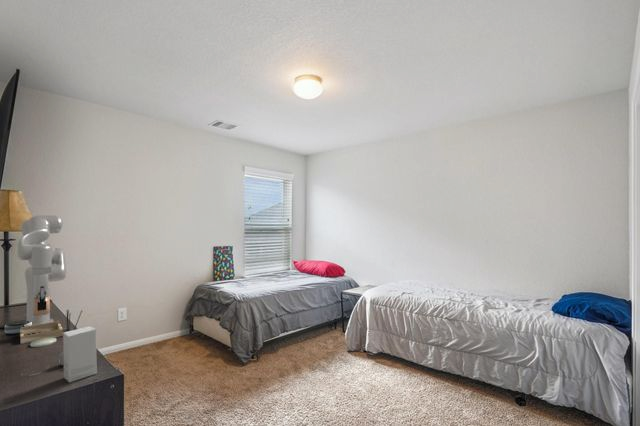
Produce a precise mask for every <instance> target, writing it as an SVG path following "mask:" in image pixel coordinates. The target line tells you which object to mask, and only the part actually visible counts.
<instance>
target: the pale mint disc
mask: <svg viewBox="0 0 640 426" xmlns="http://www.w3.org/2000/svg"><path fill="white" fill-rule="evenodd" d="M56 342H57V337H54V338H45V339H40V340H36V341H33V342H29V343H30V344H29V346H30V348H40V347H45V346H50V345H53V344H55V343H56Z"/></svg>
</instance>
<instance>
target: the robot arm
mask: <svg viewBox="0 0 640 426" xmlns="http://www.w3.org/2000/svg"><path fill="white" fill-rule="evenodd" d="M63 222H64V221H63V220H62V218H61V216H59V215H51V214H50V215H49V214H48V215H47V214H46V215H33V216H31V217H30V218H29V219H27V220H24V221H22V223H21V226H20V229H21V235H22V237H21V238H20V239H19V240H18V243H17V257H18V258H19V260H22V261H28V264H29V265H30V266H27V268H26V269H25V271H24V279H25V284H26V285H25V286H26V322H27V321H29V322H32V325H37V324H43V323H49V322H54V319H53V318H51V317H50V316H51V312H50V313H49V314H46V315H40V316H34V315H33V298H35V297H37V296H36V295H38V311H40V310H46V296H50V297H51V291H50V288H49V283H50V282H59V281H63V280H64V279H66V277H67V264H66V255H65V251H64V250H63V248H61V247H55V245H53V244H51V243H48V242H47V240H48V239H49V238H50V237H51V234H53V235H54V234H58V233H60V232H61V231H62V229H63V224H64V223H63ZM40 290H41V291H40ZM39 294H41V295H39ZM44 294H45V295H44Z"/></svg>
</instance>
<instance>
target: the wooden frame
mask: <svg viewBox="0 0 640 426" xmlns="http://www.w3.org/2000/svg"><path fill="white" fill-rule="evenodd" d="M45 331H46V332H45ZM39 332H41V333H39ZM63 332H64V329H63V327H62V325H61V321H60V320H57V321H53V322H49V323H43V324H37V325H31V326H26V327H23V326H21V327H20V328H19V337H20V345H22V344H23V345H24V344H27V343H31V342H33V341H36V340H40V339H45V338H59V337H63ZM32 333H35V334H32ZM28 334H30V335H28Z"/></svg>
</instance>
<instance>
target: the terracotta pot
mask: <svg viewBox="0 0 640 426" xmlns="http://www.w3.org/2000/svg"><path fill="white" fill-rule="evenodd" d="M40 291H41V290H40ZM39 295H41V294H39ZM44 295H45V294H44ZM36 296H37V297H35V298H33V315H34V316H40V315H46V314H49V313H50V314H51V295H50V296H46V310H40V311H38V295H36Z"/></svg>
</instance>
